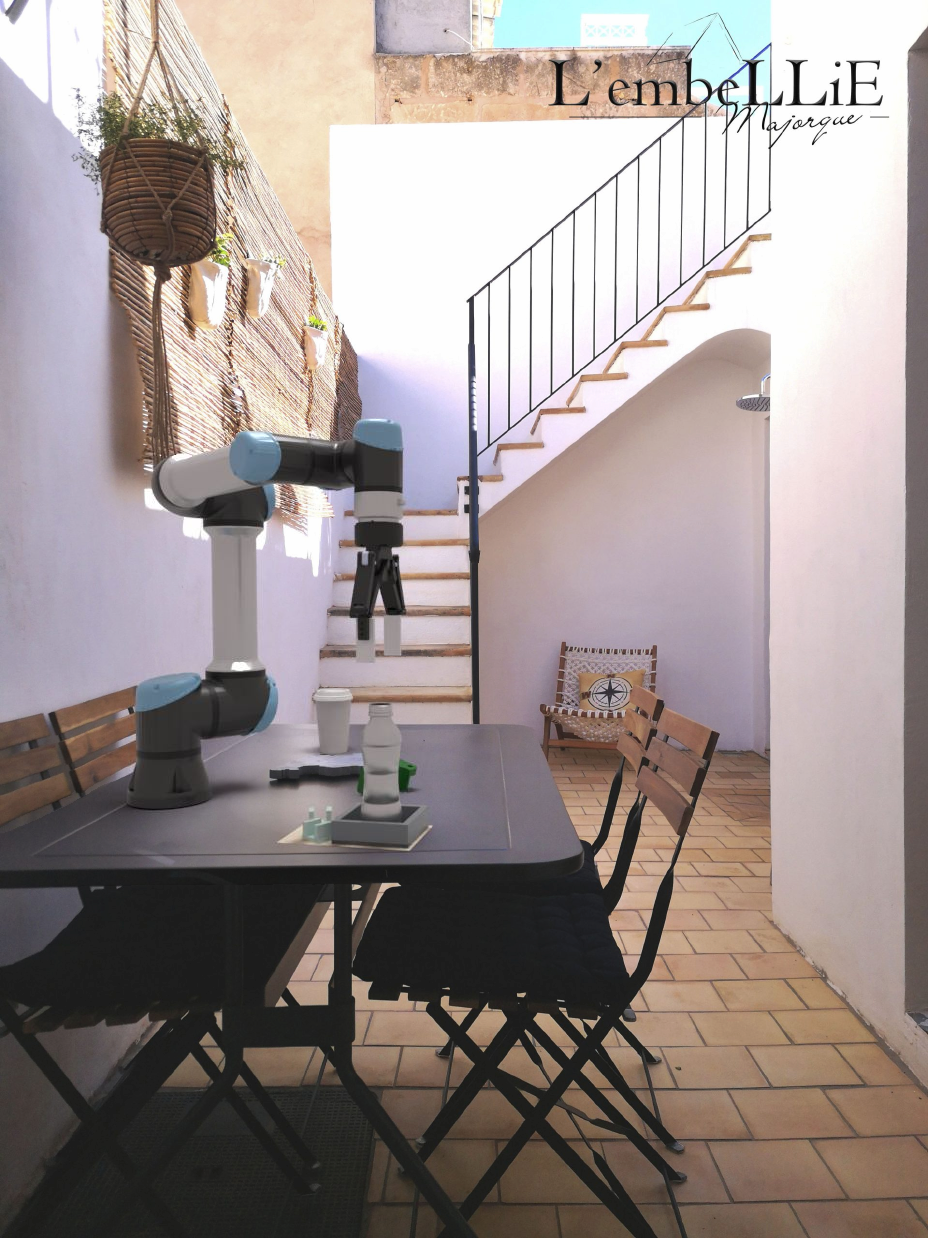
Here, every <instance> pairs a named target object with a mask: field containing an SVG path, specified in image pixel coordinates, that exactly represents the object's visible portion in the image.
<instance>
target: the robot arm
mask: <svg viewBox="0 0 928 1238" xmlns="http://www.w3.org/2000/svg"><path fill="white" fill-rule="evenodd" d="M402 432H403V429H402V426H401V424H400V423H399V422H397V421H395V420H392V419H386V418H364V419H359V420H357V421H356V423H355V424H354V426H353V434H352V438H351V439H347V440H329V439H321V438H312V437H306V436H305V437H304V436H295V435H288V434H281V433H274V432H268V431H266V430H254V431H253V430H243V431H239V432H238V433H237V434H236V435H235V438H234V439H233V440H232V441H231V443H230V444H228V445H226V446H222V447H219V448H215V449H212V450H208V451H205V452H202V453H198V454H195V455H191V454H186V453H178V454H176V455H172V456H171V455H170V456H169V457H166V458H164V459H162V460H161V461H160V462H159V463H158V464H157V465H156V466H155V467H154V469H153V470H152V474H151V478H150V484H151V485H150V487H151V488H150V489H151V491H152V494H153V497H154V498H155V500H156V501H157V502H158V504H159V505H161V506H162V507H163V508H164V510H166V511H168V512H169V513H172V514H174V515H177V516H179V517H184V518H190V519H202V530H203V531H204V532H205V533H206V534H207V535H208V536H209V537H210V539H211V541H210V543H211V544H210V547H211V550H210V551H211V600H212V601H211V602H212V603H211V606H212V607H211V608H212V609H211V613H212V614H211V615H212V660H211V662H210V663H209V664H208V665H207V666H206V667H205V669H204V671H205V672H204V673H205V674H204V676H205V677H204V678H203V679H202V677H201V675H200V674H199V673H198V672H182V673H171V674H165V675H160V676H156V677H151V678H148V679H146V680H144V681H142V682H141V683H139V684H138V685H137V686H136V689H135V701H134V702H135V703H134V707H133V709H134V711H135V712H134V715H135V718H134V719H135V752H136V753H135V754H136V758H135V759H136V760H135V765H134V767H133V770H132V774H131V777H130V780H129V784H128V787H127V789H126V790H127V792H126V803H127V805H129V806H130V807H132V808H133V807H134V808H137V809H138V808H139V809H150V810H152V809H153V810H155V809H156V810H157V809H158V810H159V809H175V808H183V807H189V806H194V805H198V804H202V803H204V802H207V801H209V800H210V799H211V798H212V795H213V793H212V789H213V787H212V783H211V779H210V777H209V775H208V772H207V768H206V766H205V763H204V761H203V757H202V741H204V740H205V741H206V740H215V739H221V738H227V737H230V738H231V737H235V736H236V737H237V736H241V737H245V736H246V737H247V736H249V735H251V734H253V735H254V734H258V733H261V732H264V731H265V730H267V729H268V728H269V727H270V726H271V723H273V721H274V719H275V717H276V714H277V711H278V705H279V692H278V691H279V690H278V687H276V685H277V684H276V681H275V679H274V678H273V677H272V676H271V675H268V674H266V673H267V672H266V671H267V670H266V669H267V668H266V666H265V664H264V663H262V661H260V660H259V653H258V652H259V650H258V649H259V647H258V645H259V643H258V642H259V641H258V640H259V639H258V582H257V581H258V580H257V579H258V575H257V573H258V572H257V571H258V570H257V568H258V567H257V538H258V536H260V535H261V533H262V532H263V531H264V530H265V522H267V521H269V520H271V519H272V517H273V515H274V513H275V511H274V510H275V509H276V505H277V504H276V502H277V501H276V497H277V496H276V495H277V494H276V490H275V485H274V484H277V485H279V484H280V485H281V484H282V485H295V486H303V487H316V488H318V489H319V490H323V491H336V492H338V491H342V490H346V489H351V488H353V519H355V520H356V521H357V522H356V523H355V524H354V525H353V526H354V534H353V535H354V536H353V537H354V538H353V539H354V545H355V547H357V548H363V549H364V548H365V551H357V552H356V553H357V554H356V569H355V570H356V571H355V575H354V576H355V577H354V583H353V589H352V596H351V601H350V608H349V613H348V614H349V618H350V619H355V655H356V657H355V661H356V664H357V663H359V664H361V663H362V664H371V663H372V664H375V663H376V619H375V618H373V614H374V611H375V607H376V604H377V600H378V595H379V592H380V595H381V599H382V603H383V609H384V610H385V615H383V656H385V657H386V656H393V657H394V656H395V657H396V656H398V657H399V656H400V657H401V656H402V616H406V615H407V608H406V605H405V604H406V603H405V598H404V597H405V596H404V591H403V590H404V589H403V583H402V578H401V577H402V576H401V572H400V571H401V570H400V555H399V554H398V553H396V554H395V553H393V551H392V550H393V548H400V547H403V545H404V524H402V522H400V520H402V519H403V518H404V515H403V513H404V511H403V510H404V509H403V506H405V505H407V501H406V499H404V498H403V497H404V496H403V491H404V490H403V488H404V485H403V484H404V445H403V444H404V443H403V433H402Z"/></svg>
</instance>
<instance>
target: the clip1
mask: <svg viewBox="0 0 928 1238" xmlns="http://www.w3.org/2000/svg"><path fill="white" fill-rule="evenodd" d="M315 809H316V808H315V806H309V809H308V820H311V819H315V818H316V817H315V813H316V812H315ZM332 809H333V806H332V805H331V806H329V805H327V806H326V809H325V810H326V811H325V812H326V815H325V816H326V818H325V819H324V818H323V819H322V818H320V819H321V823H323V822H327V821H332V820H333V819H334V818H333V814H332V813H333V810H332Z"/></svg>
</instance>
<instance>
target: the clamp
mask: <svg viewBox="0 0 928 1238" xmlns="http://www.w3.org/2000/svg"><path fill="white" fill-rule="evenodd" d="M417 769H418V766H417V765H416V764H412V763H410V762H409V761H405V760H403V759H401V758H399V770H398V785H399V791H401V792H404V793H407V792H408V790H409V785H410V782H411V781H410V780H411V777H414V776H415V775H417ZM363 790H364V766H361V767H360V772H359V776H358V782H357V787H356V792H357V793H358V794H360V795H362V796H363Z"/></svg>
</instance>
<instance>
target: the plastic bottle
mask: <svg viewBox="0 0 928 1238" xmlns="http://www.w3.org/2000/svg"><path fill="white" fill-rule="evenodd" d="M367 714H368V715H367V716H368V717H369V720H368V721H367V723H366V725H365V726H364V728H363V730H362V731H361V734H360V739H359V740H360V741H359V742H360V748H361V753H362V754H361V756H362V761H363V762H362V763H363V766H364V790H363V795H362V801H361V802H362V805H361V812H360V818H361V821H376V822H394V823H401V820H402V807H401V804H402V803H401V800H400V798H401V797H400V790H399V785H398V770H399V759H400V757H401V756H400V754H401V750H402V749H401V747H402V743H403V742H402V739H403V736H402V734H401V731H400V729H399V728H398V726H397V724H396V723H395V722H394V721H393V719H392V717H393V716H394V712H393V703H391V702H384V701H383V702H371V703H368V713H367ZM363 766H362V767H363Z"/></svg>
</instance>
